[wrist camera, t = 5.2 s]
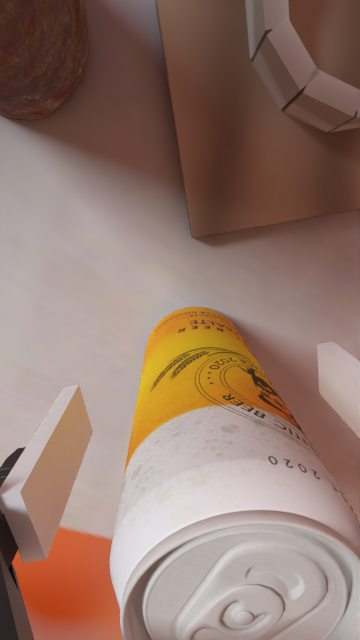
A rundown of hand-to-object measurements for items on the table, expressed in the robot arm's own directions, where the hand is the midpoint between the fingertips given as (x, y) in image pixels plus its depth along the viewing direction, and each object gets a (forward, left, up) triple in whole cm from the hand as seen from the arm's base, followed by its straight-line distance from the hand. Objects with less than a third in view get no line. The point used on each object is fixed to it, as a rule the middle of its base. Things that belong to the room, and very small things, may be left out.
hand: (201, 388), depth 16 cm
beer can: (0, 0, -5) cm, 5 cm away
